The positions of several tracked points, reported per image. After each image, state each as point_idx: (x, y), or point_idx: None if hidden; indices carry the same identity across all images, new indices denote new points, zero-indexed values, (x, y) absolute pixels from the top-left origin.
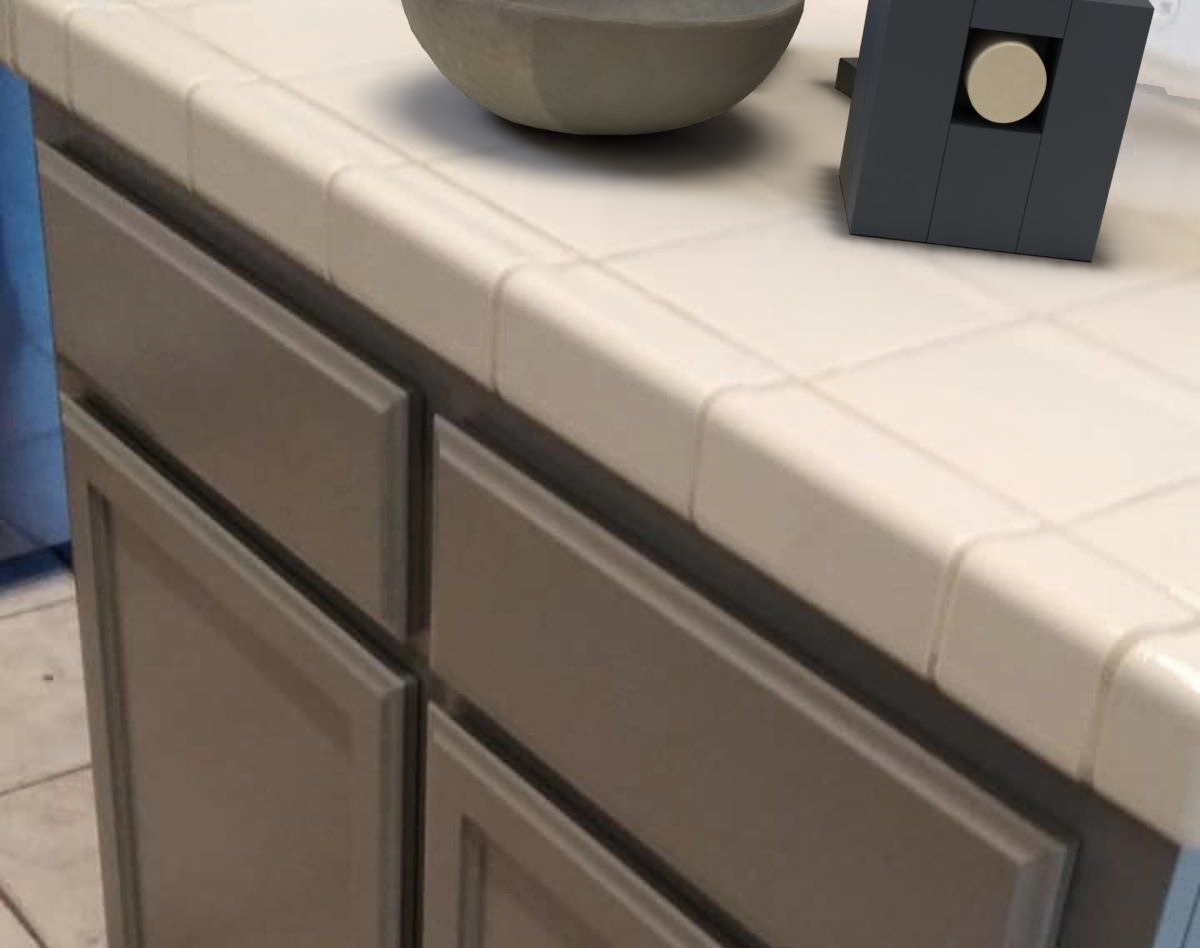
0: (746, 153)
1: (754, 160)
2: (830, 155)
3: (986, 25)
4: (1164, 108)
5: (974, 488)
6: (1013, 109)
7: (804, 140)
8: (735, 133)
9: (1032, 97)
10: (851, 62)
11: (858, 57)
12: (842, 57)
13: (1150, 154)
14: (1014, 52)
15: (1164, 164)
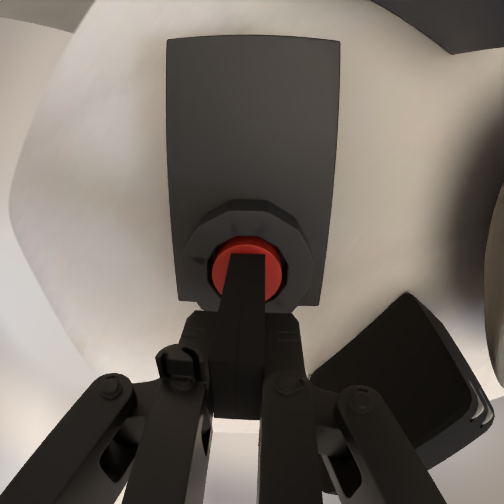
0: (495, 124)
1: (496, 107)
2: (437, 98)
3: None
4: (17, 218)
5: None
6: None
7: (439, 142)
8: (480, 172)
9: None
10: (316, 289)
11: (297, 305)
12: (316, 304)
13: (77, 80)
14: None
15: (81, 52)
